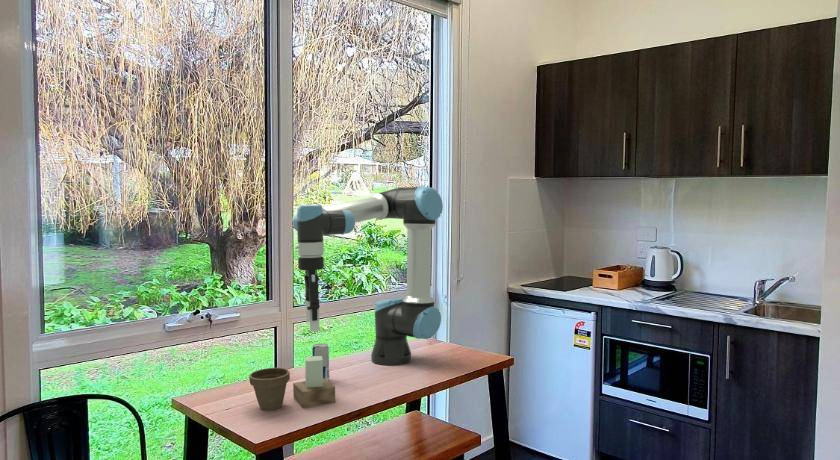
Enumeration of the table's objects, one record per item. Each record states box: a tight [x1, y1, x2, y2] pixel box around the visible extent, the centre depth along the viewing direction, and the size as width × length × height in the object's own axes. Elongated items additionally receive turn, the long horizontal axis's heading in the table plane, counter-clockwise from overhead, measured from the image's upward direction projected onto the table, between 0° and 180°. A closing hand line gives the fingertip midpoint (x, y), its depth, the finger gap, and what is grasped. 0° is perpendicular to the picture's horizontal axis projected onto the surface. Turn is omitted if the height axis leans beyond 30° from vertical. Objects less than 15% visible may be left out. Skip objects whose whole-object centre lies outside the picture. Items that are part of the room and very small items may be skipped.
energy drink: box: [311, 343, 330, 381], centre depth 199 cm, size 5×5×12 cm
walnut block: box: [292, 378, 336, 409], centre depth 180 cm, size 10×10×5 cm
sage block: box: [304, 355, 323, 388], centre depth 180 cm, size 5×5×8 cm
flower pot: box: [248, 367, 291, 411], centre depth 174 cm, size 12×11×10 cm
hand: (312, 326), depth 179 cm, fingers open, 13 cm apart
